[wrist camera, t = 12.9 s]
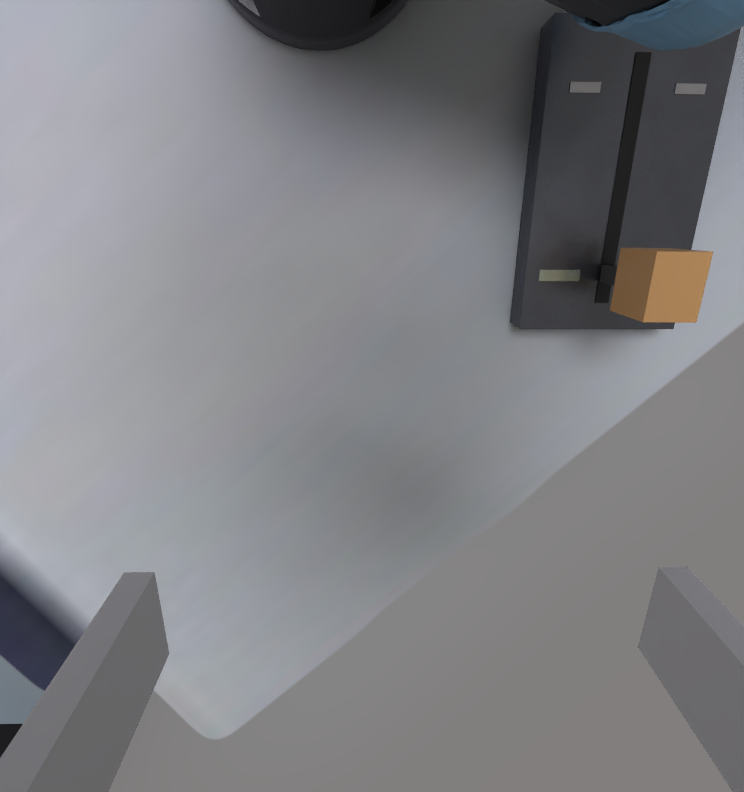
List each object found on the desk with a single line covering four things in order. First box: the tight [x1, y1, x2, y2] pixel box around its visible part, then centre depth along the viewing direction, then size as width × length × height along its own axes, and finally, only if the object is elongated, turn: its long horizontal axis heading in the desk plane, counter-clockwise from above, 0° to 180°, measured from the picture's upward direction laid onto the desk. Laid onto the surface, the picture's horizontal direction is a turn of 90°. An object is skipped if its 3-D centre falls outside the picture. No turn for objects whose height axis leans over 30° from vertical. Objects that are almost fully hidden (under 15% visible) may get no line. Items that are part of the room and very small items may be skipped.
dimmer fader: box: [599, 248, 713, 322], centre depth 32 cm, size 4×3×8 cm
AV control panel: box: [510, 13, 741, 329], centre depth 35 cm, size 20×12×3 cm, turn 0°
